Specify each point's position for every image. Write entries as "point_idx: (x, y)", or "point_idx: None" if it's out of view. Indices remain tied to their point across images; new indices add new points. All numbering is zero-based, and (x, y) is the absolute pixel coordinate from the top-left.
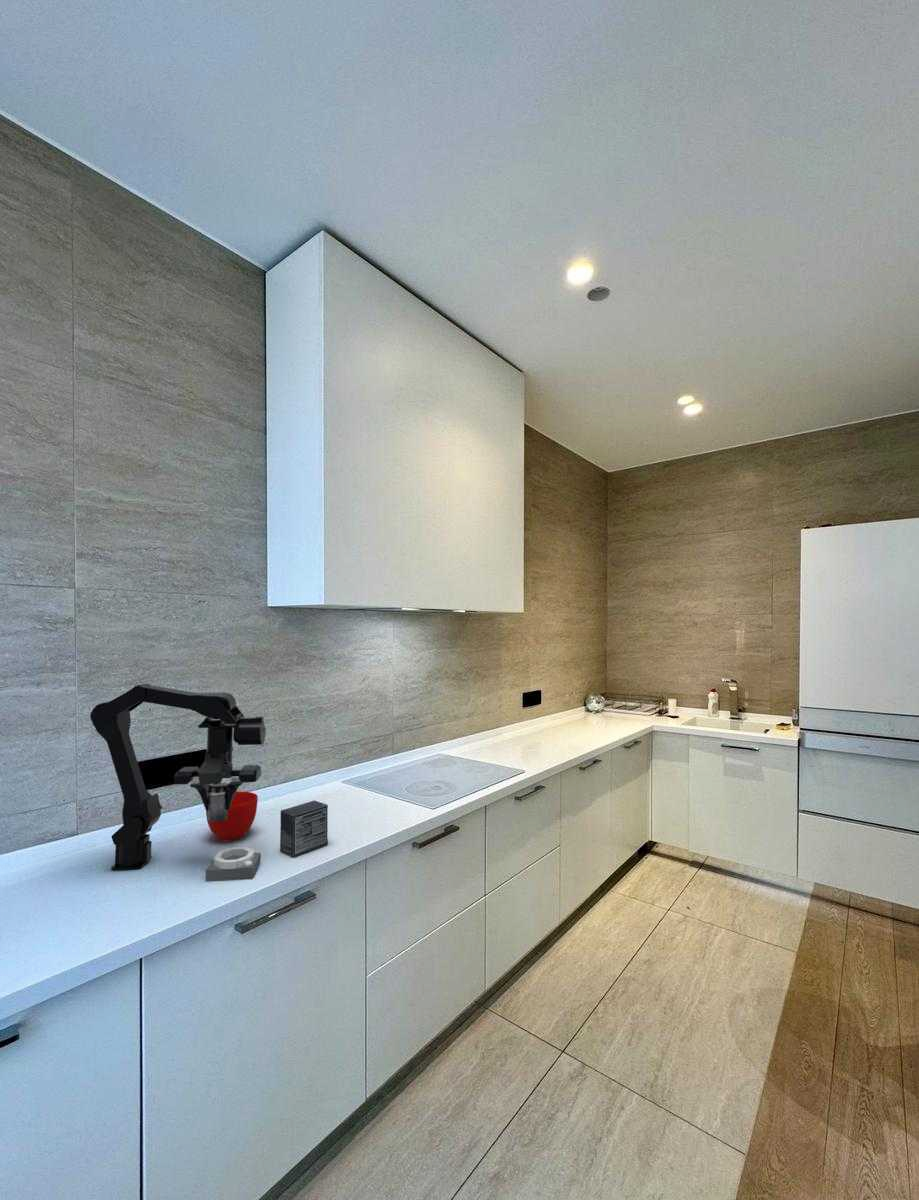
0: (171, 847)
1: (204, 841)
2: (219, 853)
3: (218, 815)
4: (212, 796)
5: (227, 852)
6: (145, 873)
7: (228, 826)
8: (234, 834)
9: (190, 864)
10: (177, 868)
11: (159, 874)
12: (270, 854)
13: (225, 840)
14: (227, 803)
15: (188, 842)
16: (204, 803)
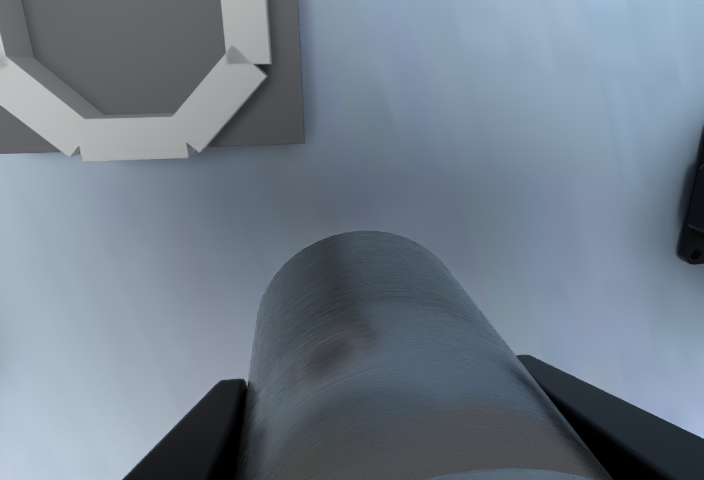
0: (607, 373)
1: None
2: (248, 40)
3: (327, 266)
4: (550, 473)
5: (201, 83)
6: (671, 62)
7: None
8: None
9: (459, 163)
10: (517, 114)
11: (595, 39)
12: (21, 273)
13: None
14: (213, 439)
15: None
16: (618, 406)
